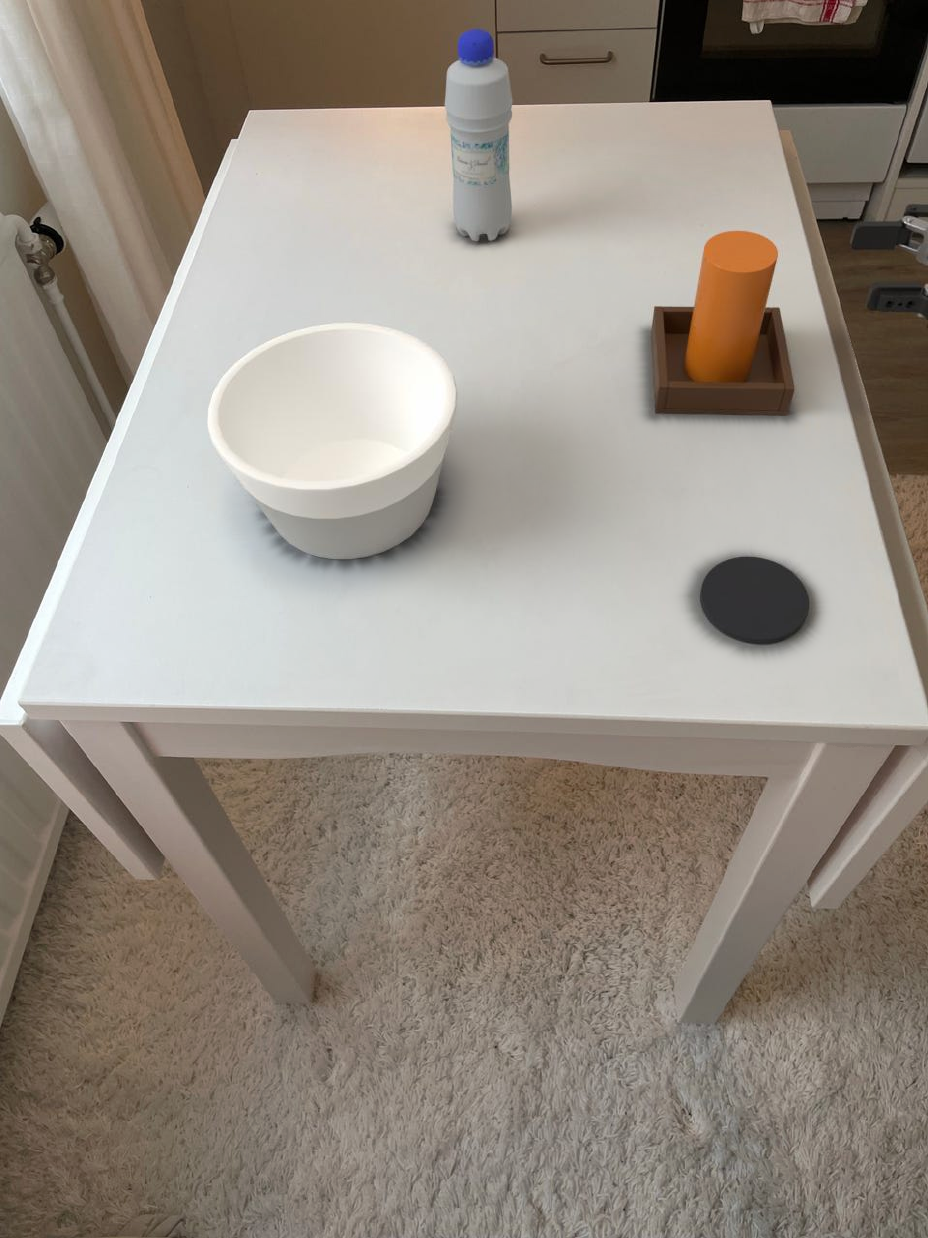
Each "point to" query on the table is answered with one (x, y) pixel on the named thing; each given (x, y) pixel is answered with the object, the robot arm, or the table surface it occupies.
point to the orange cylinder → (729, 306)
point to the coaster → (754, 600)
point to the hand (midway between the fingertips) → (860, 265)
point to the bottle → (479, 137)
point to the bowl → (337, 434)
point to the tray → (755, 396)
